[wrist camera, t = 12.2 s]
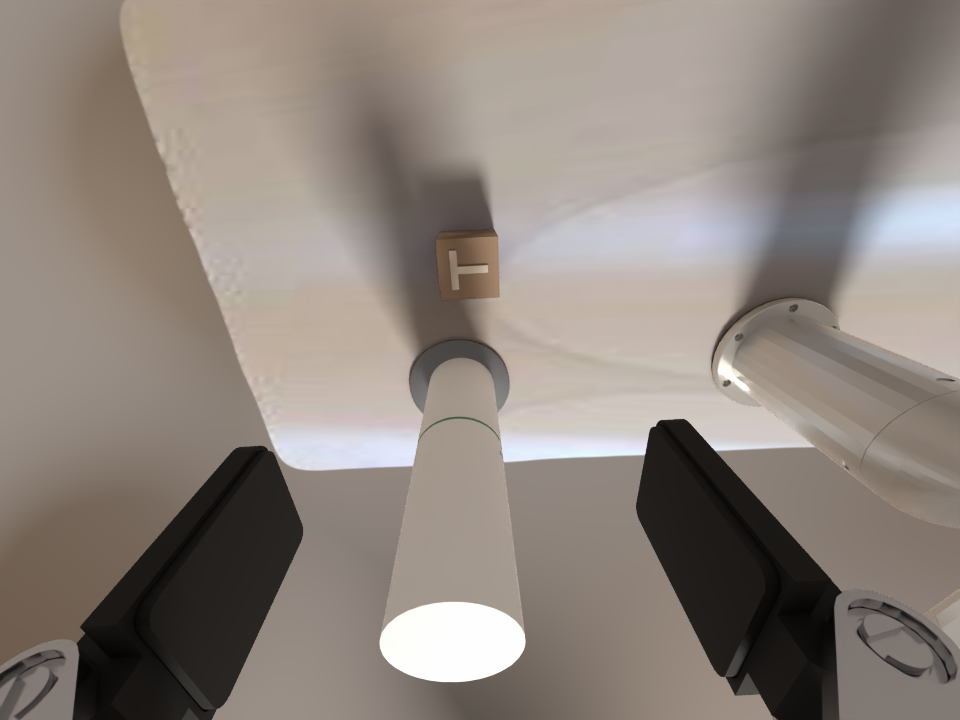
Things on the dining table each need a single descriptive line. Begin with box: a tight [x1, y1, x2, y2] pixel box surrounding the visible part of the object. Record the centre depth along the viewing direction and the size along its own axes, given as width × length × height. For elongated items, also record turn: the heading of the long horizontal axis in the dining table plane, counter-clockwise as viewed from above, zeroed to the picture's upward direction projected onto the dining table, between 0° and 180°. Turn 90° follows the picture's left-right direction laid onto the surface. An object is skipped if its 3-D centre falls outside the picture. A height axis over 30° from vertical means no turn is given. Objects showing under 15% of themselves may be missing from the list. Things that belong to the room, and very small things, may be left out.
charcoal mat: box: [410, 340, 509, 414], centre depth 41 cm, size 11×11×1 cm
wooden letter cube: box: [435, 229, 500, 300], centre depth 32 cm, size 5×5×5 cm
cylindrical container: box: [380, 358, 525, 682], centre depth 29 cm, size 7×7×25 cm
